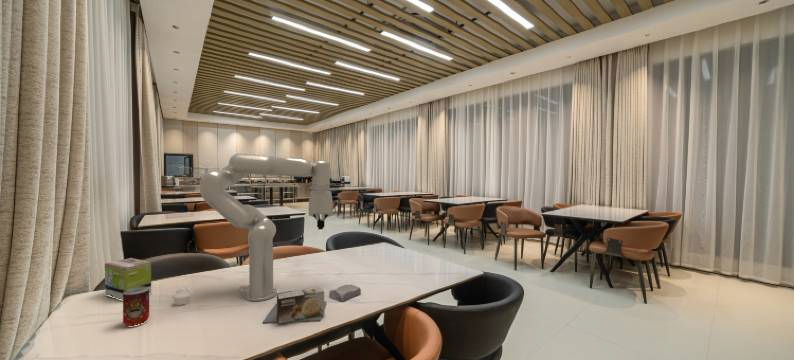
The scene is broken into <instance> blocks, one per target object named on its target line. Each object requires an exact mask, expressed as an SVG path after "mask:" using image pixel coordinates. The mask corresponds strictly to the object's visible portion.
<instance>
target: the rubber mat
mask: <svg viewBox="0 0 794 360" xmlns="http://www.w3.org/2000/svg"><path fill="white" fill-rule="evenodd" d="M326 305H327V301H325V300H324V310H325V309H326ZM322 317H323V315H320V316H315V317H310V318H305V319H300V320H295V321H290V322H285V323H286V324H287V323H308V322H311V323H312V322H313V323H314V322H315V323H316V322H321V321H322ZM285 323H284V324H285ZM262 324H278V321H277V302H275V304H274V305H273V307H272V308H271V310H270V311H269V313H268V314H267V315H266V317H265V318H264V319H263V321H262Z"/></svg>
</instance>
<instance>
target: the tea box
mask: <svg viewBox="0 0 794 360" xmlns="http://www.w3.org/2000/svg"><path fill="white" fill-rule="evenodd" d="M104 283H105V284H104V287H105V290H104V293H105V294H106V295H110V296H112V297H115V298H118V299H122V300H123V293H124V292H125V291H126V290H128V289H130V288H133V287H139V286H144V287H148V288H149V293H151V294H152V262H151V261H150V260H149V261H147V260H144V259H137V258H133V257H130V258H125V259H124V258H123V259H120V260H115V261H111V262H106V263H104ZM105 294H104V295H105ZM106 295H105V296H106Z"/></svg>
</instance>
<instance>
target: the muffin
mask: <svg viewBox="0 0 794 360" xmlns="http://www.w3.org/2000/svg"><path fill="white" fill-rule="evenodd" d="M191 296H192V292H191V290H189V289H188V288H187V287H186V286H179V287H178V288H177V289H176V291H175V293H174V294H173V295H172V299H173V301H174V303H175V304H176V305H177V306H178V305H181V306H183V305H182V304H185V305H186V303H187V304H188V302H189V300H190V298H191Z"/></svg>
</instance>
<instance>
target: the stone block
mask: <svg viewBox="0 0 794 360" xmlns="http://www.w3.org/2000/svg"><path fill="white" fill-rule="evenodd" d="M361 292H362V288H361V287H359V286H358V285H354V284H343V285H340V286H339V287H337V288H335V289H334V288H333V289H331V290H329V293H328V294H329V299H331V300H335V301H338V302H341V303H344V302H347V301H349V300H350V299H353V298H356V297H357V296H359V295H360V294H361Z"/></svg>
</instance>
